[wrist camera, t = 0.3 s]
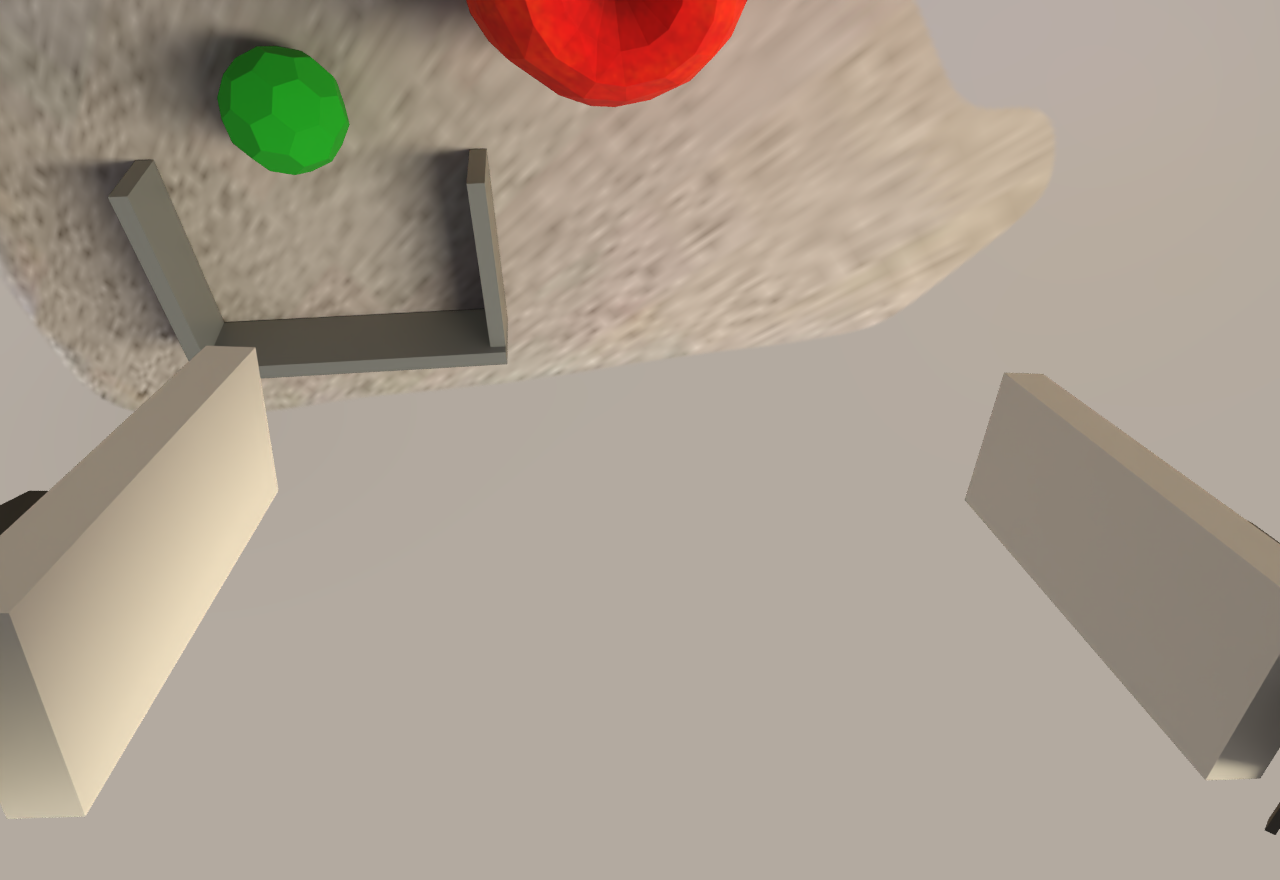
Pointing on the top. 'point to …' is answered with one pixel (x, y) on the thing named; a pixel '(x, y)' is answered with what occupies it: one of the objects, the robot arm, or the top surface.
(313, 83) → the polyhedron
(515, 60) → the apple
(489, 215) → the tray
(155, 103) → the top surface
